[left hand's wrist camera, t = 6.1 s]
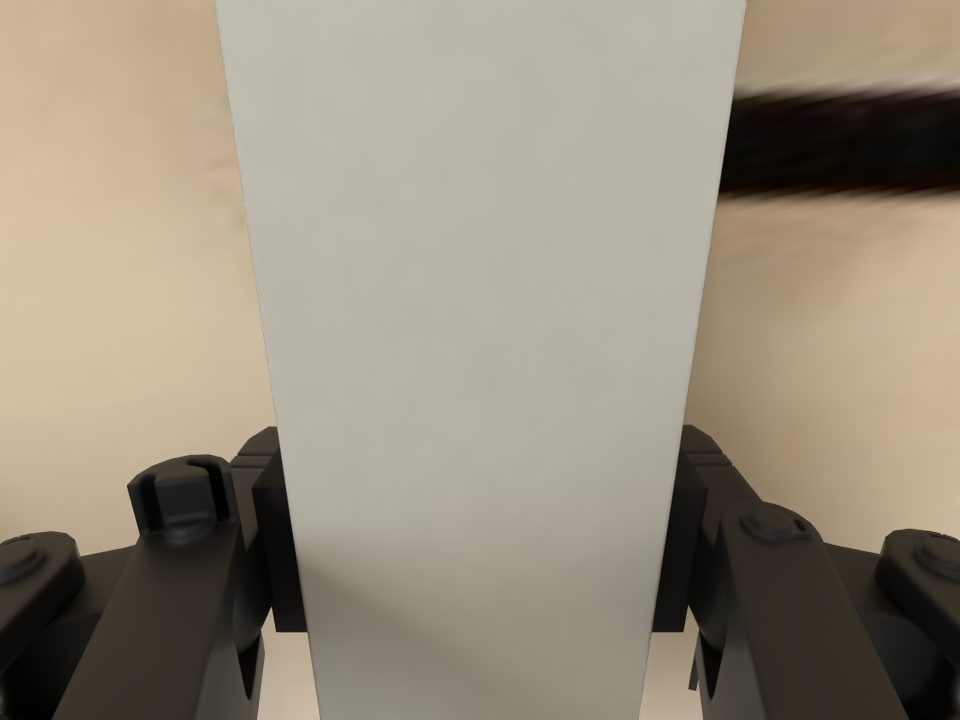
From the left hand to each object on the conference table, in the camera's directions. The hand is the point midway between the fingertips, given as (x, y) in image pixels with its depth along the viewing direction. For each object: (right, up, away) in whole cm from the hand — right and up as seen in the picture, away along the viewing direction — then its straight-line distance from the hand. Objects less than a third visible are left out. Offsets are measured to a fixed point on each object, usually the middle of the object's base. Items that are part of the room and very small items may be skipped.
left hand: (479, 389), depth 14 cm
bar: (0, +24, -8) cm, 25 cm away
